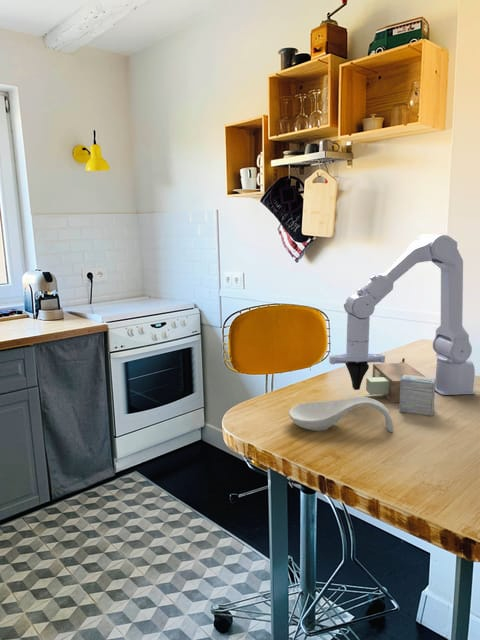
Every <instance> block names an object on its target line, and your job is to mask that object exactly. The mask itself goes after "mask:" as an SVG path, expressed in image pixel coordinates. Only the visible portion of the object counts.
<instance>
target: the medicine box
mask: <svg viewBox="0 0 480 640" xmlns="http://www.w3.org/2000/svg"><path fill="white" fill-rule="evenodd" d="M435 381H436V377H429V376H428V377H427V376H425V377H422V376H413V375H403V377H402V379H401V388H400V402H399V411H398V412H401V413H409V414H415V415H422V416H429V417H433V415H434V411H435V398H436V396H435V395H436V393H435V392H436V391H435Z"/></svg>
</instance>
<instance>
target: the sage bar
mask: <svg viewBox="0 0 480 640" xmlns="http://www.w3.org/2000/svg"><path fill="white" fill-rule="evenodd" d="M389 381H390V380H388V379H387V378H386V377H373V376H372V377H366V382H365V391H366V392H367V393H368V394H369V395H373V396H374V395H384V394H389Z"/></svg>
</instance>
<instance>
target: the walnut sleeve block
mask: <svg viewBox="0 0 480 640" xmlns="http://www.w3.org/2000/svg"><path fill="white" fill-rule="evenodd" d="M375 370H378V371H379V372H380V373H381V375H380V377H386V378H387V379H388V380H390V381H389V394H383V395H384V397H386V398H387V399H388V400H389V401H390V402H391V403H400V388H401V379H402V377H403V375H413V376H422V377H426V375H424V374H423V373H421V372H420V371H418V370H417V369H415V368H414V367H412V366H411V365H410V364H409V363H408V362H406V363H405V362H404V363H402V362H401V363H400V362H399V363H398V362H396V363H394V362H393V363H390V362H389V363H373V364H372V377H375Z"/></svg>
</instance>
